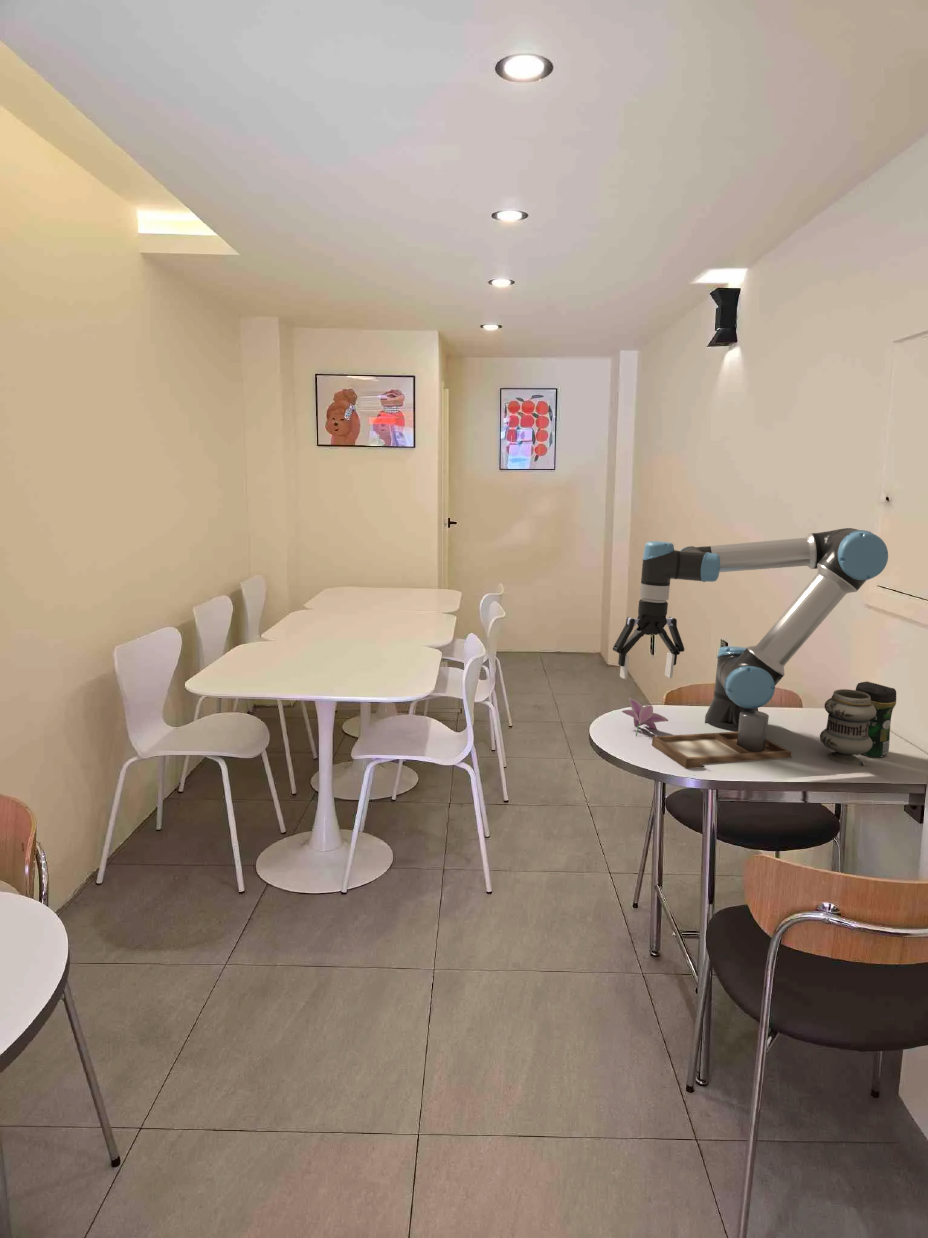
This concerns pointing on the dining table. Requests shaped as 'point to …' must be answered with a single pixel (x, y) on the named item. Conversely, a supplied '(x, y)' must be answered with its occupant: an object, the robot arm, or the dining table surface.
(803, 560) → the robot arm
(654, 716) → the lily
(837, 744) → the apothecary jar
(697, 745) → the tray
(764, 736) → the grey rounded cylinder
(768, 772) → the dining table surface
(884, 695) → the coffee jar
